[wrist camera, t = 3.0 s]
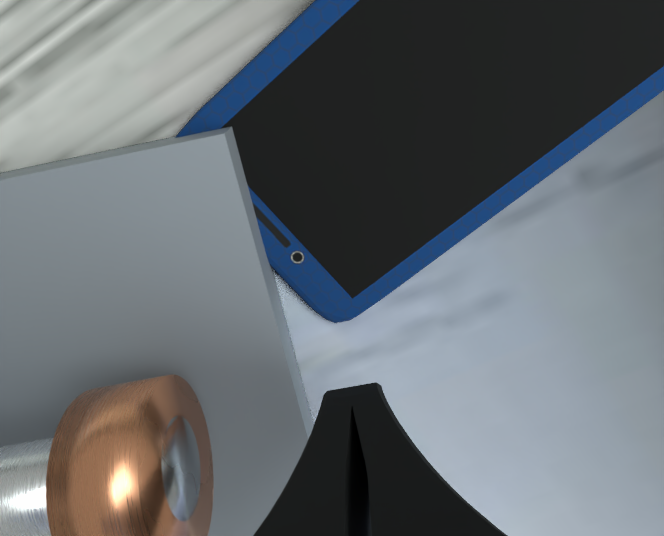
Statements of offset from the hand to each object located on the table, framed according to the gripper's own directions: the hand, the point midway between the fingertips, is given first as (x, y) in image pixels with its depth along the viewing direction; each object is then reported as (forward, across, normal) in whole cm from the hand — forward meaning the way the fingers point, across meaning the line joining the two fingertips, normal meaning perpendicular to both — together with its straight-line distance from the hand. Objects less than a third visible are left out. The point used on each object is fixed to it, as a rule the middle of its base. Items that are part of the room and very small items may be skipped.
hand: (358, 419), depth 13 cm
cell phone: (+4, -4, -7) cm, 9 cm away
